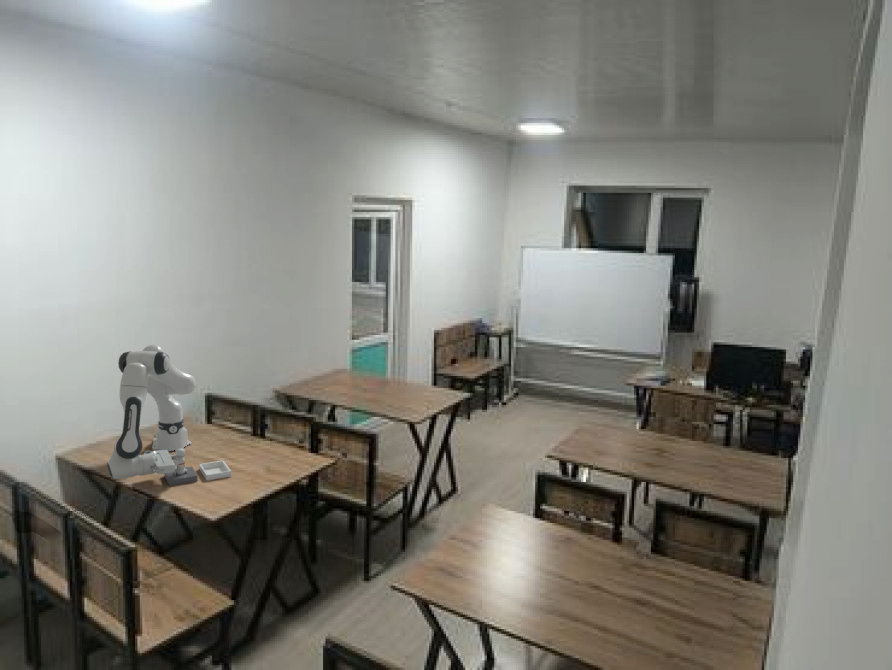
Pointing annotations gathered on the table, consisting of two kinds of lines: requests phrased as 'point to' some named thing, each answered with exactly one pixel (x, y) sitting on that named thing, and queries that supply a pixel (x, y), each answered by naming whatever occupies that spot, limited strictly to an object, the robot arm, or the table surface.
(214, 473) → the tray
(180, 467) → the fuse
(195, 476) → the fuse holder
